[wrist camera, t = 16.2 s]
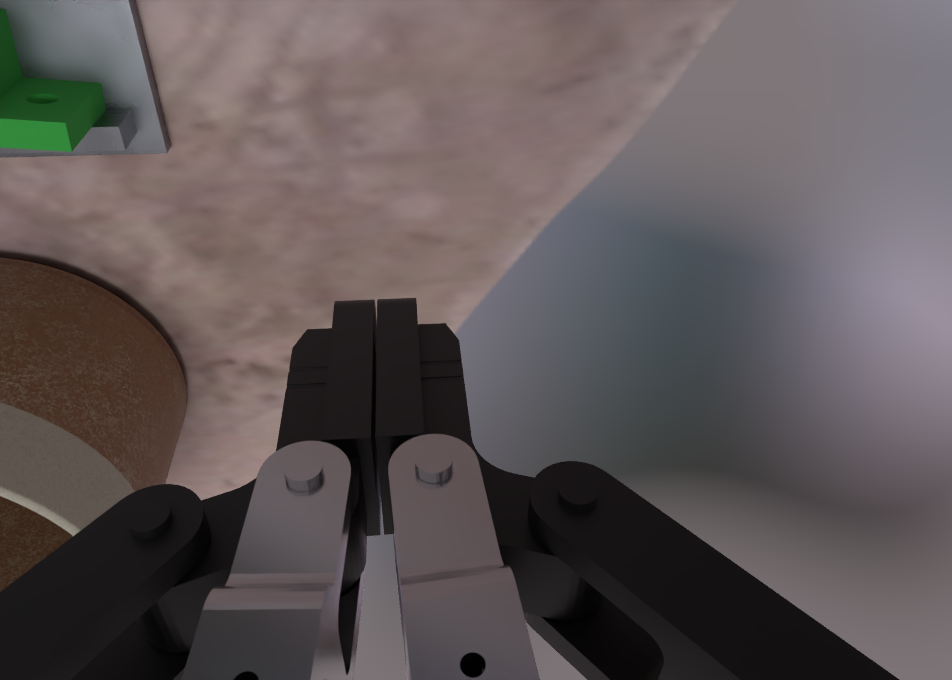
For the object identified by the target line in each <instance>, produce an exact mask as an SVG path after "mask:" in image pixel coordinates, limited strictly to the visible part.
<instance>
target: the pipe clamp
mask: <svg viewBox="0 0 952 680" xmlns="http://www.w3.org/2000/svg"><path fill="white" fill-rule="evenodd" d="M105 110H106V107H105V101H104V96H103V91H102V86H101V83H93V82H80V81H67V80H54V79H41V78H28V77H23V76H22V72H21V68H20V64H19V60H18V56H17V52H16V48H15V44H14V40H13V36H12V32H11V28H10V25H9V21H8V17H7V13H6V9H0V148H17V149H33V150H49V151H66V152H72V151H73V150H74V149H75V148H76V146H77V145H78V144H79V143H80V141H81V140H82V139H83V138H84V136H85V135H86V134H87V133H88V131H89V130H90V129H91V128H92V126H93V125H94V124H95V123H96V121H97V120H98V119H99V118H100V116H101V115H102V114H103V113H104V112H105Z"/></svg>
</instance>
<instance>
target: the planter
mask: <svg viewBox="0 0 952 680" xmlns="http://www.w3.org/2000/svg"><path fill="white" fill-rule="evenodd" d="M186 403H187V394H186V385H185V380H184V377H183V373H182V370H181V368H180V365H179V363H178V361H177V359H176V357H175V355H174V353H173V351H172V349H171V348H170V346H169V345H168V343H167V342H166V341H165V339H164V338H163V337H162V335H161V334H160V333H159V332H158V331H157V330H156V328H155V327H154V326H153V325H152V324H151V323H150V322H149V321H148V320H147V319H146V318H145V317H143V316H142V315H141V314H140V313H139V312H138V311H136V310H135V309H134V308H133V307H131V306H130V305H129V304H127V303H126V302H125V301H123V300H122V299H120V298H119V297H117V296H116V295H114V294H112V293H111V292H109V291H107V290H106V289H104V288H102V287H100V286H98V285H96V284H94V283H92V282H90V281H88V280H86V279H83V278H81V277H79V276H76V275H74V274H71V273H68V272H66V271H63V270H60V269H56V268H53V267H50V266H46V265H42V264H38V263H33V262H29V261H23V260H17V259H9V258H0V592H1V591H2V590H4V589H5V588H6V587H7V586H9V585H10V584H11V583H13V582H14V581H15V580H17V579H18V578H19V577H21V576H22V575H23V574H24V573H26V572H27V571H28V570H30V569H31V568H32V567H34V566H35V565H36V564H38V563H39V562H40V561H42V560H43V559H44V558H45V557H47V556H48V555H49V554H51V553H52V552H53V551H55V550H56V549H57V548H59V547H60V546H61V545H62V544H64V543H65V542H66V541H68V540H69V539H70V538H72V537H73V536H74V535H76V534H77V533H78V532H79V531H81V530H82V529H83V528H85V527H86V526H87V525H89V524H90V523H91V522H93V521H94V520H95V519H96V518H98V517H99V516H100V515H102V514H103V513H104V512H106V511H107V510H108V509H110V508H111V507H112V506H114V505H115V504H116V503H117V502H119V501H120V500H122V499H123V498H125V497H126V496H128V495H129V494H131V493H133V492H135V491H138V490H140V489H143V488H146V487H150V486H154V485H160V484H165V482H166V479H167V475H168V472H169V468H170V465H171V461H172V458H173V455H174V451H175V448H176V444H177V441H178V437H179V434H180V430H181V427H182V423H183V420H184V416H185V411H186Z"/></svg>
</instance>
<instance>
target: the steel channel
mask: <svg viewBox="0 0 952 680" xmlns="http://www.w3.org/2000/svg"><path fill="white" fill-rule="evenodd" d="M0 9H6V13H7V17H8V21H9V25H10V28H11V32H12V36H13V40H14V44H15V48H16V52H17V56H18V60H19V64H20V68H21V72H22V76H23V77H28V78H41V79H54V80H67V81H80V82H93V83H101V86H102V91H103V96H104V101H105V107H106V110H105V112H104V113H103V114H102V115H101V116H100V118H99V119H98V120H97V121H96V123H95V124H94V125H93V126H92V128H91V129H90V130H89V131H88V133H87V134H86V135H85V136H84V138H83V139H82V140H81V141H80V143H79V144H78V145H77V146H76V148H75V149H74V150H73V151H72V152H66V151H49V150H33V149H17V148H0V157H37V156H76V155H115V154H154V153H167V152H168V150H169V149H170V147H171V144H170V140H169V136H168V132H167V128H166V124H165V120H164V116H163V112H162V108H161V104H160V100H159V96H158V92H157V88H156V84H155V80H154V75H153V71H152V67H151V63H150V59H149V55H148V51H147V47H146V43H145V39H144V35H143V31H142V27H141V23H140V19H139V15H138V11H137V7H136V2H135V0H0Z"/></svg>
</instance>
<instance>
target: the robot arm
mask: <svg viewBox="0 0 952 680" xmlns="http://www.w3.org/2000/svg"><path fill="white" fill-rule="evenodd" d="M380 503H382V513H383V524H384V534H393V535H394V548H395V562H396V573H397V585H398V595H399V604H400V614H401V624H402V634H403V644H404V653H405V664H406V673H407V680H540V678H539V674H538V670H537V666H536V662H535V658H534V654H533V650H532V646H531V642H530V638H529V634H528V630H527V626H526V622H527V623H528V624H529V625H530V626H531V627H532V629H534V630H535V631H536V632H537V633H538V634H539V635H540V636H541V637H542V638H543V639H544V640H545V641H547V642H548V643H549V644H550V645H551V646H552V647H553V648H554V649H555V650H556V651H557V652H558V653H559V654H560V655H562V656H563V657H564V658H565V659H566V660H567V661H568V662H569V663H570V664H571V665H572V666H573V667H575V668H576V669H577V670H578V671H579V672H580V673H581V674H582V675H583V676H584V677H585V678H586V679H587V680H899V679H898V678H896V677H895V676H893V675H892V674H891V673H889V672H888V671H886V670H885V669H883V668H882V667H881V666H879V665H878V664H877V663H875V662H873V661H872V660H871V659H869V658H868V657H867V656H865V655H864V654H862V653H861V652H860V651H858V650H856V649H855V648H854V647H852V646H851V645H850V644H848V643H847V642H845V641H844V640H842V639H841V638H840V637H838V636H837V635H836V634H834V633H833V632H831V631H830V630H828V629H827V628H826V627H824V626H823V625H821V624H820V623H819V622H817V621H816V620H814V619H813V618H812V617H810V616H809V615H807V614H806V613H804V612H803V611H802V610H800V609H799V608H797V607H796V606H795V605H793V604H792V603H790V602H789V601H788V600H786V599H784V598H783V597H782V596H780V595H779V594H778V593H776V592H775V591H773V590H772V589H771V588H769V587H768V586H766V585H765V584H763V583H762V582H761V581H759V580H758V579H756V578H755V577H754V576H752V575H751V574H749V573H748V572H747V571H745V570H744V569H742V568H741V567H739V566H738V565H737V564H735V563H734V562H732V561H731V560H730V559H728V558H727V557H725V556H724V555H723V554H721V553H720V552H718V551H717V550H715V549H714V548H713V547H711V546H710V545H708V544H707V543H706V542H704V541H703V540H701V539H700V538H698V537H697V536H696V535H694V534H693V533H692V532H690V531H689V530H687V529H686V528H684V527H683V526H682V525H680V524H679V523H677V522H676V521H675V520H673V519H672V518H670V517H669V516H667V515H666V514H665V513H663V512H662V511H660V510H659V509H658V508H656V507H655V506H653V505H652V504H650V503H649V502H648V501H646V500H645V499H643V498H642V497H641V496H639V495H638V494H636V493H635V492H633V491H632V490H631V489H629V488H628V487H626V486H625V485H624V484H622V483H621V482H619V481H618V480H617V479H615V478H614V477H612V476H611V475H609V474H608V473H607V472H605V471H604V470H602V469H600V468H598V467H596V466H594V465H591V464H588V463H583V462H577V461H566V462H560V463H556V464H553V465H551V466H548V467H546V468H545V469H543V470H542V471H541V472H540V473H539V474H537V476H536V477H535V478H533V477H528V476H523V475H518V474H514V473H510V472H506V471H504V470H501V469H499V468H497V467H495V466H493V465H491V464H490V463H488V462H487V461H486V460H484V459H483V458H482V457H481V456H480V454H479V453H478V452H477V450H476V449H475V447H474V444H473V442H472V437H471V430H470V422H469V415H468V407H467V399H466V391H465V384H464V378H463V368H462V363H461V353H460V345H459V340H458V338H457V337H456V336H455V335H454V333H453V332H452V331H451V330H450V328H449V327H448V326H447V325H446V323H443V324H420V325H418V321H417V304H416V298H401V299H378V301H377V320H376V308H375V300H354V301H335V304H334V313H333V324H332V328H329V329H307V330H306V332H305V333H304V334H303V335H302V337H301V338H300V339H299V340H298V342H297V343H296V344H295V346H294V347H293V349H292V355H291V362H290V372H289V374H288V380H287V389H286V393H285V399H284V405H283V411H282V418H281V424H280V430H279V436H278V443H277V449H276V452H274V453H273V454H272V455H271V456H270V457H268V459H267V460H266V461H265V462H264V463H263V465H262V466H261V468H260V470H259V473H258V476H257V478H256V479H254V480H253V481H251V482H249V483H248V484H246V485H244V486H242V487H240V488H238V489H235V490H232V491H230V492H226V493H223V494H220V495H217V496H214V497H211V498H208V499H204V500H200V499H199V497H198V496H197V495H196V494H195V493H194V492H193V491H192V490H190V489H188V488H186V487H183V486H179V485H173V484H160V485H154V486H150V487H146V488H143V489H140V490H138V491H135V492H133V493H131V494H129V495H128V496H126V497H125V498H123V499H122V500H120V501H119V502H117V503H116V504H115V505H114V506H112V507H111V508H110V509H108V510H107V511H106V512H104V513H103V514H102V515H100V516H99V517H98V518H96V519H95V520H94V521H93V522H91V523H90V524H89V525H87V526H86V527H85V528H83V529H82V530H81V531H79V532H78V533H77V534H76V535H74V536H73V537H72V538H70V539H69V540H68V541H66V542H65V543H64V544H62V545H61V546H60V547H59V548H57V549H56V550H55V551H53V552H52V553H51V554H49V555H48V556H47V557H45V558H44V559H43V560H42V561H40V562H39V563H38V564H36V565H35V566H34V567H32V568H31V569H30V570H28V571H27V572H26V573H24V574H23V575H22V576H21V577H19V578H18V579H17V580H15V581H14V582H13V583H11V584H10V585H9V586H7V587H6V588H5V589H4V590H2V591H1V592H0V680H353V679H354V670H355V661H356V651H357V642H358V634H359V625H360V616H361V607H362V598H363V589H364V567H365V564H366V544H367V536H373V535H380V519H381V517H380V515H381V512H380V511H381V510H380V508H381V504H380ZM525 620H526V621H525Z"/></svg>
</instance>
